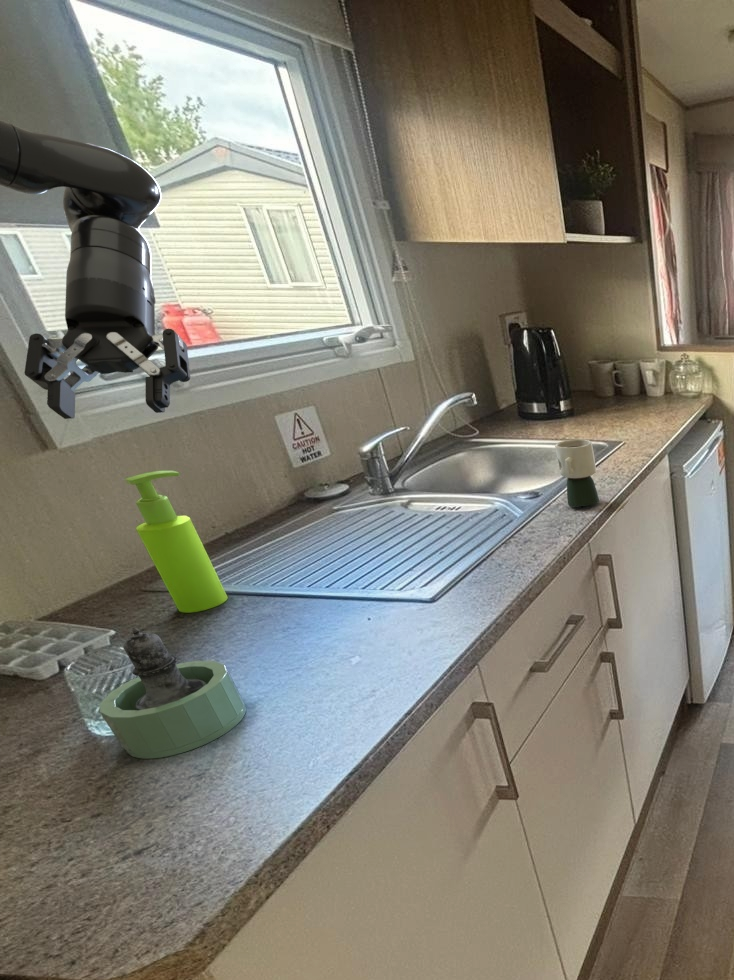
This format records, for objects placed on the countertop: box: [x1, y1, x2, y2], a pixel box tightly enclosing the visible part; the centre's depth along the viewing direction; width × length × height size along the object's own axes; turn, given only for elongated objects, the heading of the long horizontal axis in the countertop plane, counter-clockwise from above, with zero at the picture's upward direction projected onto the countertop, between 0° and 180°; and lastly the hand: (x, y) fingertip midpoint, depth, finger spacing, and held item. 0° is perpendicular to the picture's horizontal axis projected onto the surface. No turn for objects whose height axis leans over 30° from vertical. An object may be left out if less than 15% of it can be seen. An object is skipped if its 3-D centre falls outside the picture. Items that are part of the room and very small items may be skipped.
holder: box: [99, 660, 247, 760], centre depth 72 cm, size 10×10×6 cm
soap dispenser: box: [124, 470, 228, 614], centre depth 95 cm, size 6×7×20 cm
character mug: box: [554, 438, 600, 509], centre depth 134 cm, size 11×7×13 cm, turn 0°
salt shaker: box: [122, 627, 206, 710], centre depth 70 cm, size 6×6×12 cm
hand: (110, 411), depth 76 cm, fingers open, 8 cm apart
